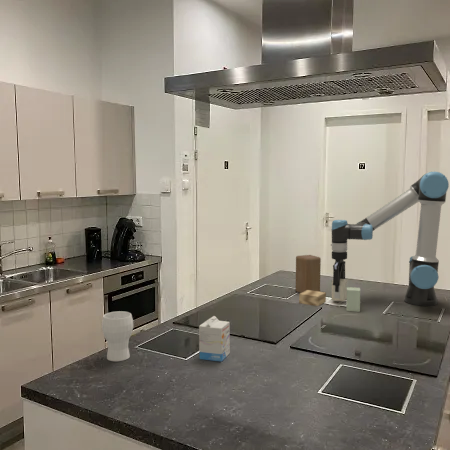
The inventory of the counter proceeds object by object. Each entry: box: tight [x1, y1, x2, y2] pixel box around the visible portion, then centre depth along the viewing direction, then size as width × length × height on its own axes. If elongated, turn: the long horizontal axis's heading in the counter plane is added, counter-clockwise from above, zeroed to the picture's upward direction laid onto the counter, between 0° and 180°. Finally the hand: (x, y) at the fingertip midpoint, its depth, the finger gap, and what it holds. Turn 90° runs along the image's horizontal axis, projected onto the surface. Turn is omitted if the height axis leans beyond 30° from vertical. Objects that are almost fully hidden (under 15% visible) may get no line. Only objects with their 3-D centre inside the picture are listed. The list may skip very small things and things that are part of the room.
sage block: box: [345, 286, 361, 313], centre depth 218 cm, size 6×6×10 cm
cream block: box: [331, 278, 348, 302], centre depth 232 cm, size 6×6×10 cm
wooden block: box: [295, 254, 322, 294], centre depth 251 cm, size 10×10×20 cm
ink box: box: [198, 315, 231, 362], centre depth 161 cm, size 9×8×13 cm
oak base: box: [298, 290, 327, 307], centre depth 232 cm, size 10×10×5 cm
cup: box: [101, 310, 134, 362], centre depth 160 cm, size 11×11×15 cm
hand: (339, 296), depth 232 cm, fingers closed on cream block, 6 cm apart
